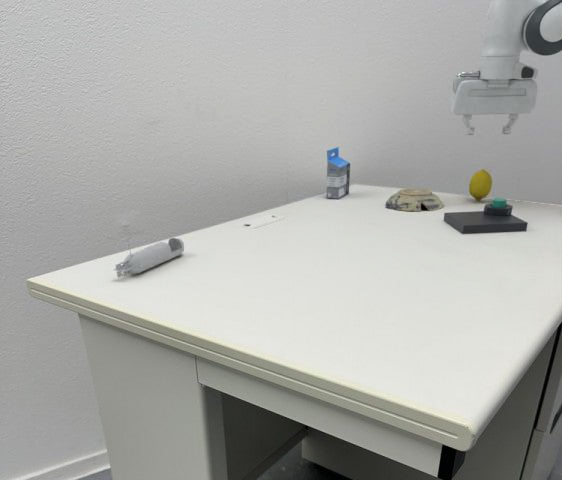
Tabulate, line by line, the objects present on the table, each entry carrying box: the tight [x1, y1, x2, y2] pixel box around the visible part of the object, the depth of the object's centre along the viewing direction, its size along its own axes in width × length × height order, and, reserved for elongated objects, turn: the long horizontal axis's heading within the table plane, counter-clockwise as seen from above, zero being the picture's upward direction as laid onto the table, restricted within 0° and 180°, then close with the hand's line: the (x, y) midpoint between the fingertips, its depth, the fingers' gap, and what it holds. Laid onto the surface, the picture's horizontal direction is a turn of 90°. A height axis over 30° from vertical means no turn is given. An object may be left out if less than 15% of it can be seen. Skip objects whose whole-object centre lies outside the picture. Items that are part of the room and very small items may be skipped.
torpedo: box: [113, 237, 185, 278], centre depth 100 cm, size 18×5×7 cm, turn 152°
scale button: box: [491, 197, 508, 208], centre depth 123 cm, size 3×3×2 cm
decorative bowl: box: [385, 187, 444, 213], centre depth 140 cm, size 15×4×15 cm
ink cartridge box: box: [325, 146, 351, 200], centre depth 151 cm, size 9×4×12 cm, turn 155°
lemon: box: [468, 168, 493, 202], centre depth 142 cm, size 6×6×8 cm
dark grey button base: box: [443, 202, 529, 235], centre depth 121 cm, size 14×12×4 cm
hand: (487, 134), depth 136 cm, fingers open, 8 cm apart
